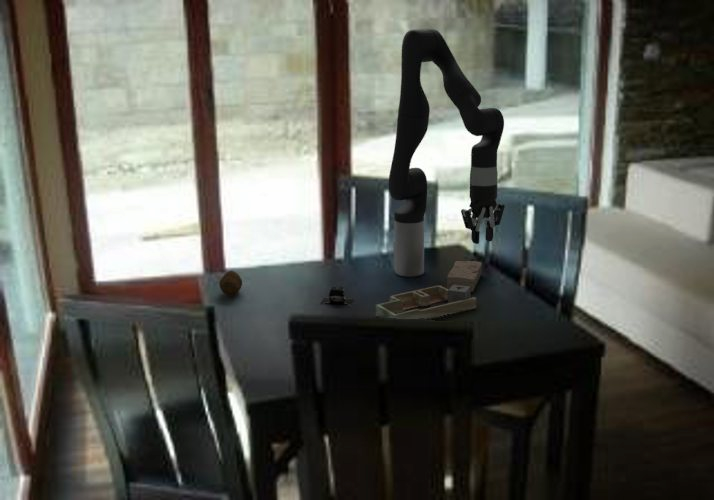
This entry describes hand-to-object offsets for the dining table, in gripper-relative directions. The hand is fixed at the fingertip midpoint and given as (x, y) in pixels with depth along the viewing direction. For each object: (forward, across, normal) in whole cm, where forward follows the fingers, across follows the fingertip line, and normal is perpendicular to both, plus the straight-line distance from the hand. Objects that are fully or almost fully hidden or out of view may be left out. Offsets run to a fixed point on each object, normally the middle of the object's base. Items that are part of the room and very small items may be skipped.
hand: (482, 241), depth 231 cm
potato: (+18, +59, -44) cm, 76 cm away
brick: (+18, -5, -15) cm, 24 cm away
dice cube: (+18, +8, 0) cm, 19 cm away
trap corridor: (+17, +19, -2) cm, 26 cm away
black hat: (+18, +35, -21) cm, 45 cm away
